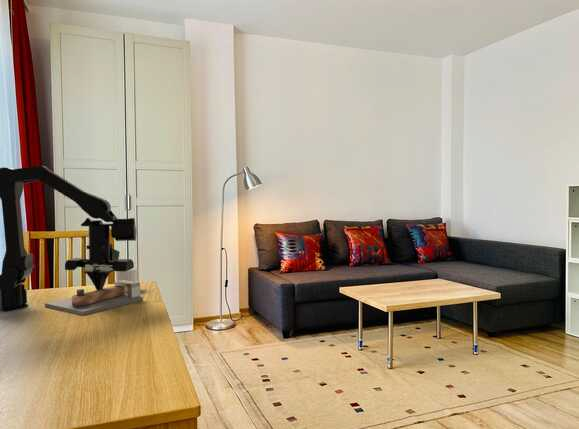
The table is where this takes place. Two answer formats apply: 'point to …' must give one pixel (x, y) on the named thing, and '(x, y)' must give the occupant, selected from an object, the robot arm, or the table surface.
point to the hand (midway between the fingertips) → (100, 293)
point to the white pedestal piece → (127, 275)
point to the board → (92, 304)
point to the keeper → (130, 287)
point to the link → (96, 295)
